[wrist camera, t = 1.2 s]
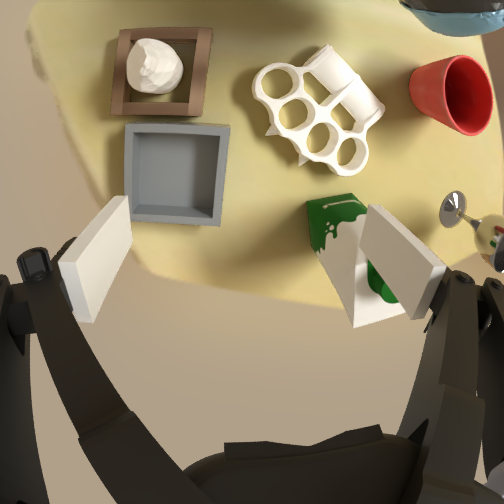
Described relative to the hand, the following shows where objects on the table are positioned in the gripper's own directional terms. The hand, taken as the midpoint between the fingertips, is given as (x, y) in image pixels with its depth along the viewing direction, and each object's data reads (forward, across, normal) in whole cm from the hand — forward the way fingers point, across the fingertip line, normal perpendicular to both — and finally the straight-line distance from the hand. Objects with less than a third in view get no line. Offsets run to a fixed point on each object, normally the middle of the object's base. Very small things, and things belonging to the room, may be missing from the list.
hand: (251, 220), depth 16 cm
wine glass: (+24, +39, -6) cm, 46 cm away
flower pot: (+25, +28, +12) cm, 39 cm away
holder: (+24, -10, +10) cm, 28 cm away
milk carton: (+24, +14, -10) cm, 30 cm away
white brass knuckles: (+25, +10, +5) cm, 27 cm away
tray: (+24, -7, -3) cm, 25 cm away
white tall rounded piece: (+24, -10, +10) cm, 28 cm away
